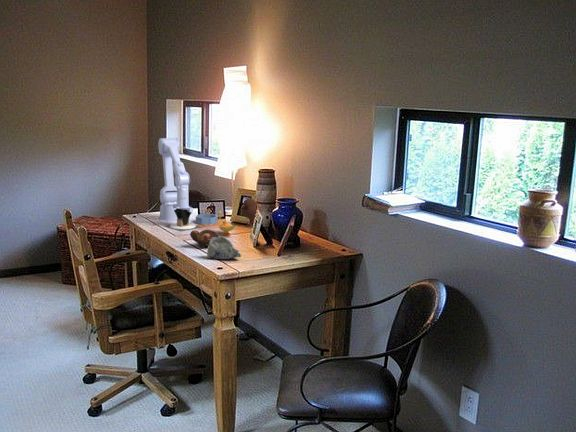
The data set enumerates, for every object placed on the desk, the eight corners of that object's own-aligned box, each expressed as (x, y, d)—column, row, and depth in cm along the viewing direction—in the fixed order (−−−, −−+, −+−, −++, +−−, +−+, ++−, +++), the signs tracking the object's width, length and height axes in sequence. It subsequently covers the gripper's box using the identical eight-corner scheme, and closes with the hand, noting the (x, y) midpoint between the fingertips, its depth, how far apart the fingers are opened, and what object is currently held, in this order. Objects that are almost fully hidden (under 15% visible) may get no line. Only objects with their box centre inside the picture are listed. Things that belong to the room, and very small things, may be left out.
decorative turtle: (187, 245, 263) (188, 227, 261) (220, 245, 268) (221, 228, 267) (192, 249, 254) (193, 231, 253) (225, 249, 259) (226, 232, 258)
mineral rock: (242, 260, 241) (243, 237, 239) (221, 265, 234) (221, 241, 232) (224, 253, 251) (224, 231, 249) (203, 257, 244) (203, 234, 242)
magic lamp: (231, 240, 274) (231, 217, 271) (212, 232, 288) (212, 210, 286) (243, 238, 278) (244, 216, 276) (224, 230, 292) (224, 209, 290)
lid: (165, 226, 295) (164, 218, 295) (185, 222, 305) (185, 215, 304) (180, 230, 287) (180, 222, 286) (201, 227, 296) (201, 219, 295)
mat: (163, 227, 296) (163, 226, 296) (185, 223, 306) (185, 222, 306) (180, 232, 286) (180, 231, 286) (203, 228, 296) (203, 227, 296)
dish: (192, 223, 307) (192, 215, 306) (208, 220, 315) (208, 213, 314) (205, 226, 299) (205, 219, 299) (221, 223, 307) (221, 216, 306)
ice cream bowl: (261, 228, 298) (261, 200, 295) (239, 228, 298) (239, 199, 295) (262, 224, 308) (262, 196, 305) (241, 223, 308) (241, 196, 305)
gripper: (167, 196, 295) (168, 222, 297) (185, 200, 285) (185, 227, 288) (179, 195, 300) (179, 220, 302) (196, 199, 290) (196, 225, 293)
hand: (183, 223), depth 295 cm, fingers closed on lid, 3 cm apart
